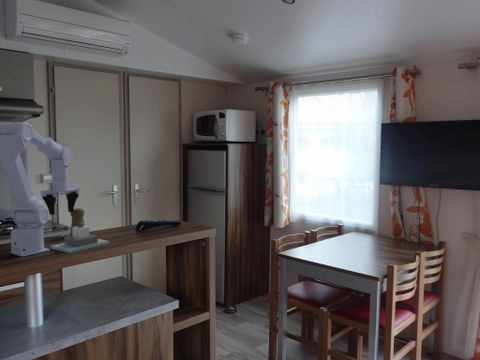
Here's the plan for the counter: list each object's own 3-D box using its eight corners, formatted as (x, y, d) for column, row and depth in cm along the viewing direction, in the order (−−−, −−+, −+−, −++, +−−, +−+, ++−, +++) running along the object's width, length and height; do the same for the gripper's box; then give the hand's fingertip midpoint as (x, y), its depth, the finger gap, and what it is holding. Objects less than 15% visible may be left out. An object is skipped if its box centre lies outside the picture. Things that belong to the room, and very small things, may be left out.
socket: (69, 253, 136) (68, 242, 135) (50, 248, 142) (50, 238, 141) (108, 243, 149) (108, 234, 148) (90, 239, 155) (90, 230, 155)
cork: (66, 236, 161) (65, 209, 160) (77, 233, 167) (76, 207, 166) (79, 237, 159) (78, 210, 158) (89, 234, 165) (88, 207, 164)
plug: (79, 245, 142) (78, 224, 141) (73, 243, 144) (72, 223, 144) (89, 243, 145) (88, 222, 145) (82, 241, 148) (82, 221, 147)
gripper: (47, 179, 145) (49, 216, 146) (83, 177, 157) (84, 211, 158) (37, 178, 149) (38, 215, 150) (72, 176, 161) (74, 210, 162)
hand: (61, 213), depth 154 cm, fingers open, 7 cm apart
